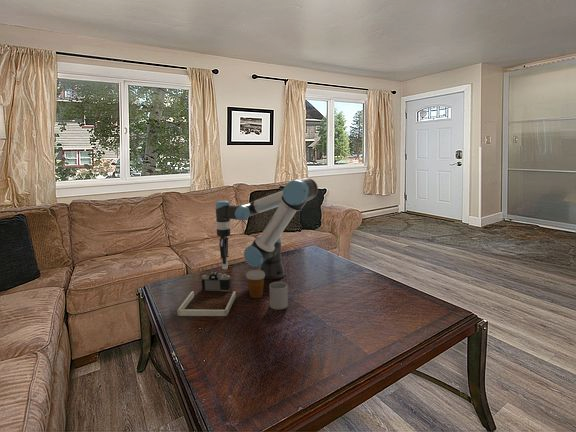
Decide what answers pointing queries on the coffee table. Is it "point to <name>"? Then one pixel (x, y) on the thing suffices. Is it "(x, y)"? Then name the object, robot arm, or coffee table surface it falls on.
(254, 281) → the disposable coffee cup
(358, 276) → the coffee table surface
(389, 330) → the coffee table surface
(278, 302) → the cup
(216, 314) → the docking bay
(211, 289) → the camera
